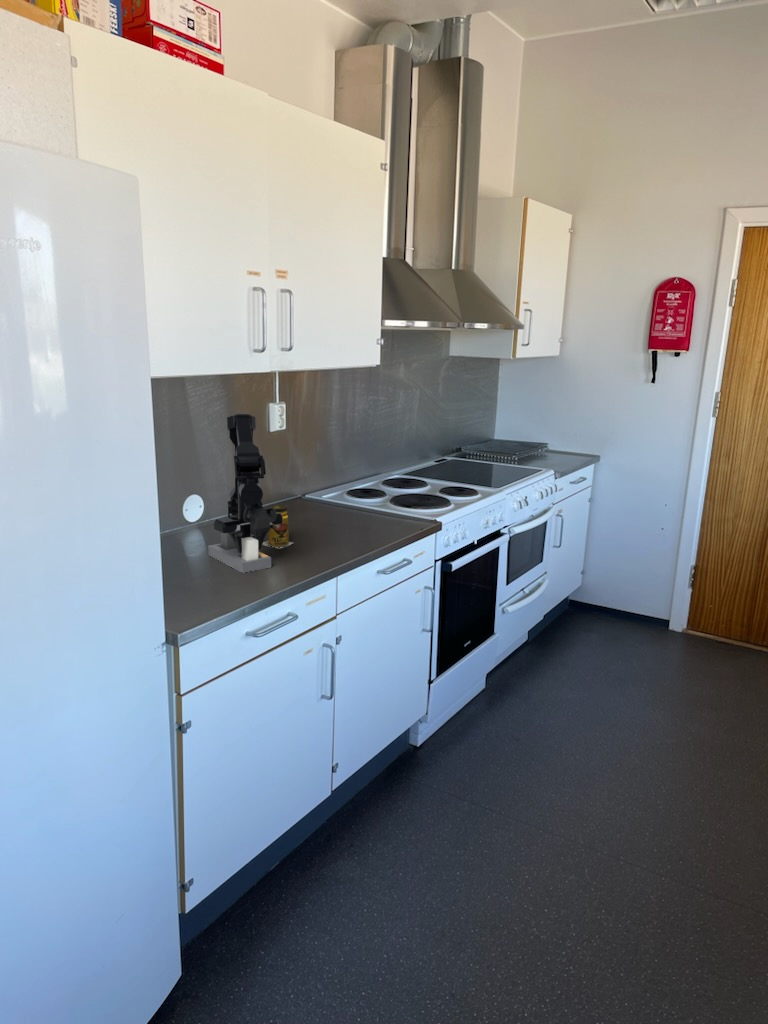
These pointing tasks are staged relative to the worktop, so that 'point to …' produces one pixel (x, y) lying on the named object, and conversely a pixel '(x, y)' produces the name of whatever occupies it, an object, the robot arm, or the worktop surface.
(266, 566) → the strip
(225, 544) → the dark gray block
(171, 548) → the worktop surface
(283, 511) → the condiment
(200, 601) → the worktop surface
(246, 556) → the plug
